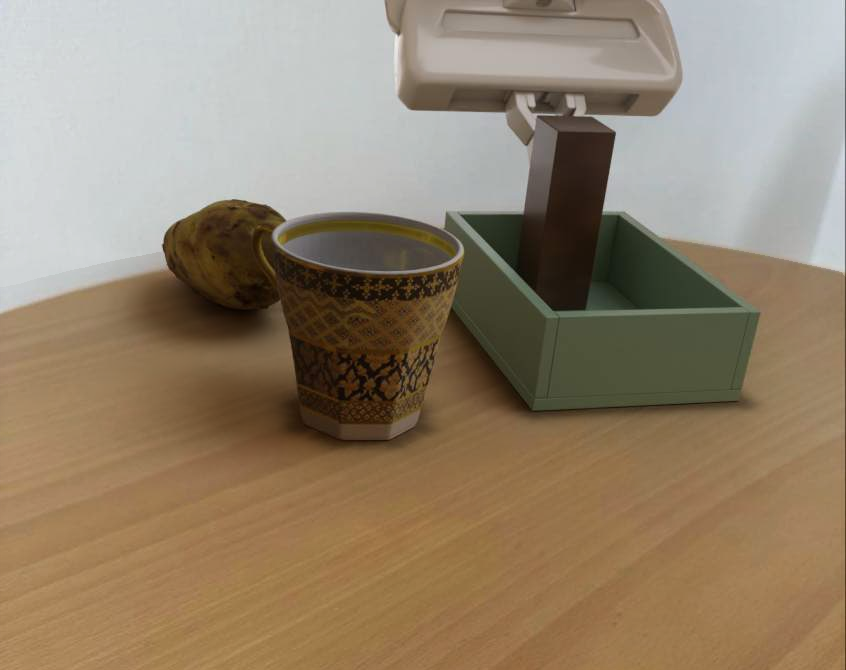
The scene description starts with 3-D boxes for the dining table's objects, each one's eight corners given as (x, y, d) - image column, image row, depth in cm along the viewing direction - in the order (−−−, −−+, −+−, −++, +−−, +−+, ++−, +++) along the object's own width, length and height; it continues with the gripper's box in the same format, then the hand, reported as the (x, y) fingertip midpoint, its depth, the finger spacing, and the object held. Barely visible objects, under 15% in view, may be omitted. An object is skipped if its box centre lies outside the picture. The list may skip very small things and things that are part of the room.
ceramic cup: (480, 415, 66) (501, 244, 61) (372, 476, 59) (385, 288, 54) (308, 349, 72) (313, 188, 67) (191, 397, 65) (187, 221, 60)
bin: (611, 287, 86) (624, 211, 83) (739, 401, 71) (761, 311, 68) (438, 291, 83) (445, 210, 80) (532, 411, 67) (546, 317, 64)
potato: (280, 276, 83) (282, 163, 78) (307, 348, 72) (311, 221, 68) (162, 276, 81) (157, 160, 76) (171, 350, 70) (167, 219, 66)
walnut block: (565, 289, 83) (592, 116, 76) (586, 310, 80) (616, 131, 73) (512, 290, 82) (536, 114, 75) (532, 311, 79) (558, 130, 72)
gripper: (390, -58, 75) (418, 134, 72) (673, -39, 81) (709, 140, 78) (370, 6, 81) (396, 185, 78) (635, 19, 87) (667, 187, 84)
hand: (554, 163), depth 78 cm, fingers closed
